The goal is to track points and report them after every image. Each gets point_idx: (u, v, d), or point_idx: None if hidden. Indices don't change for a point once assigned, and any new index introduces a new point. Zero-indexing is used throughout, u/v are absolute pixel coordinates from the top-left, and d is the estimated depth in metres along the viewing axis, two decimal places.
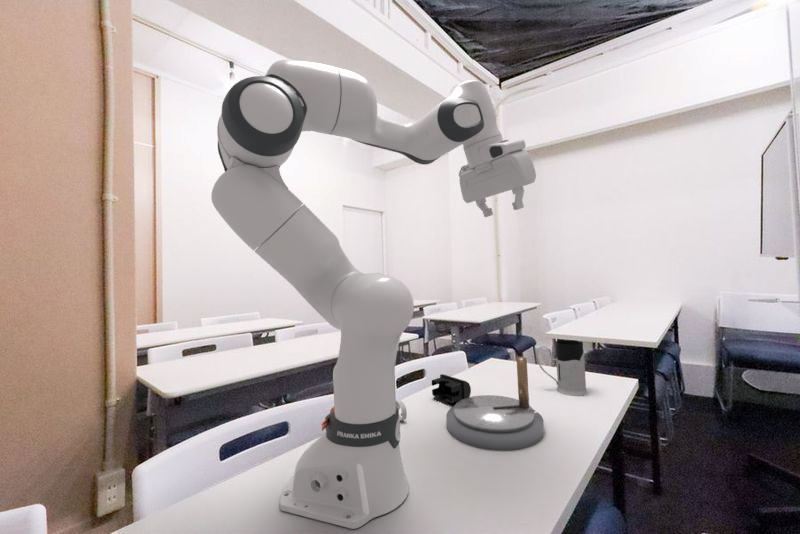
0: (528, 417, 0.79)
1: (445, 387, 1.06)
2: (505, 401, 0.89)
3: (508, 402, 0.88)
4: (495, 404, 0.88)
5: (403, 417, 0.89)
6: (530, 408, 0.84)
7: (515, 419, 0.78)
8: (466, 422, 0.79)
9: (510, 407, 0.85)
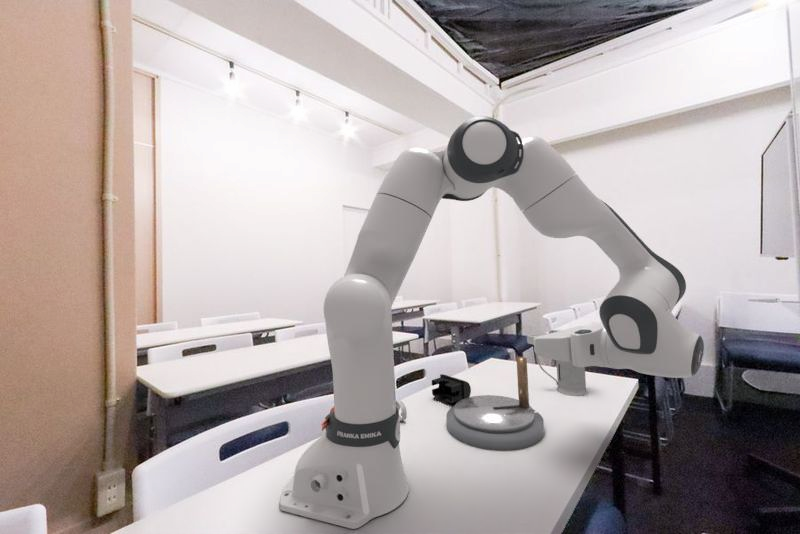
0: (528, 417, 0.79)
1: (445, 387, 1.06)
2: (505, 401, 0.89)
3: (508, 402, 0.88)
4: (495, 404, 0.88)
5: (403, 417, 0.89)
6: (530, 408, 0.84)
7: (515, 419, 0.78)
8: (466, 422, 0.79)
9: (510, 407, 0.85)
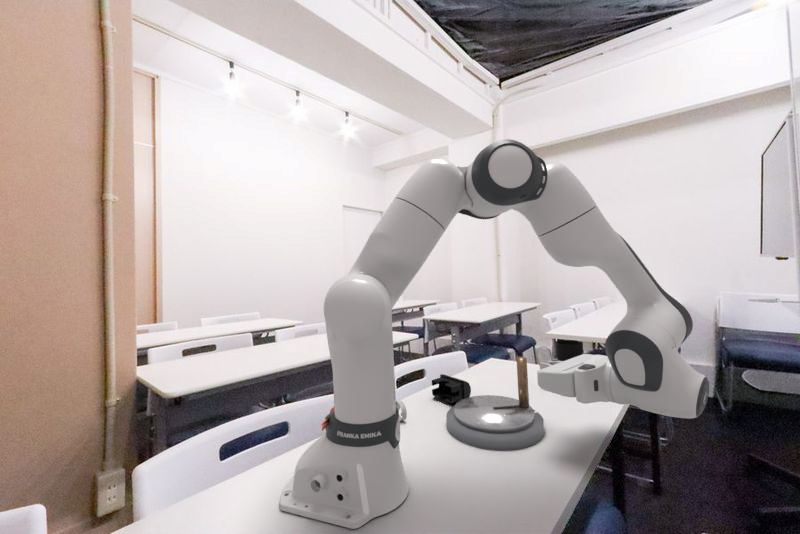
0: (528, 417, 0.79)
1: (445, 387, 1.06)
2: (505, 401, 0.89)
3: (508, 402, 0.88)
4: (495, 404, 0.88)
5: (403, 417, 0.89)
6: (530, 408, 0.84)
7: (515, 419, 0.78)
8: (466, 422, 0.79)
9: (510, 407, 0.85)
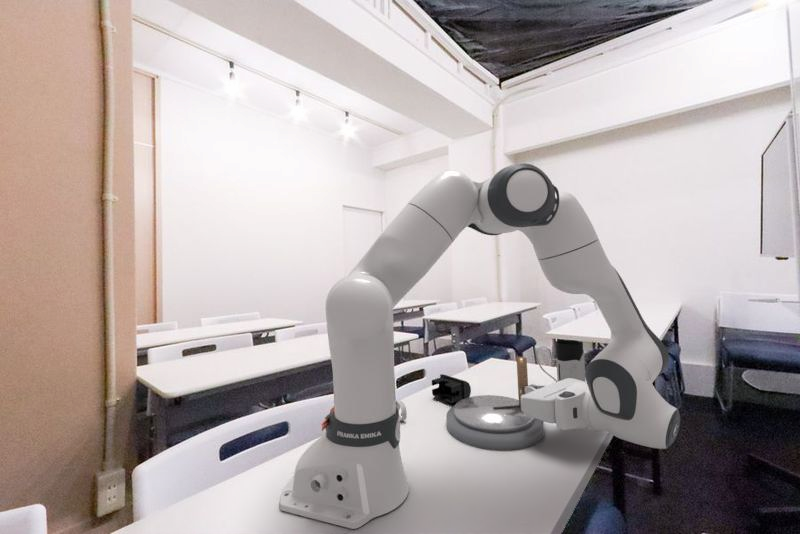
0: (528, 417, 0.79)
1: (445, 387, 1.06)
2: (505, 401, 0.89)
3: (508, 402, 0.88)
4: (495, 404, 0.88)
5: (403, 417, 0.89)
6: None
7: (515, 419, 0.78)
8: (466, 422, 0.79)
9: (510, 407, 0.85)
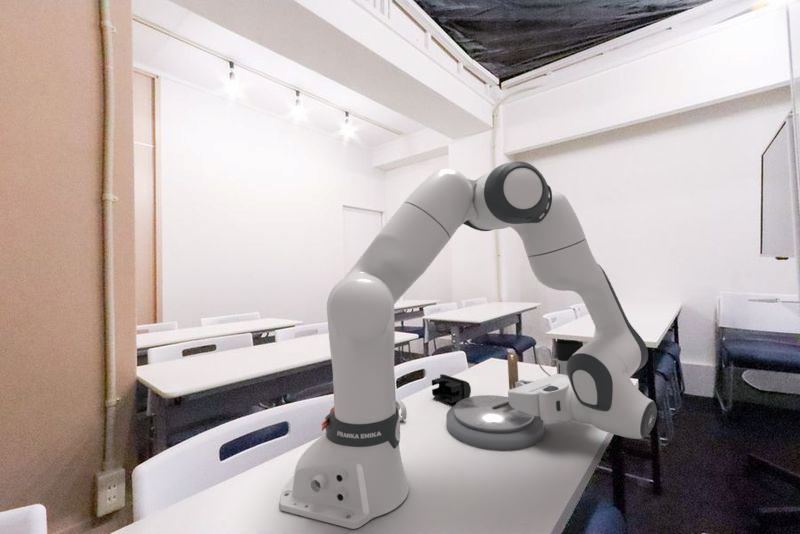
0: None
1: (445, 387, 1.06)
2: (494, 400, 0.91)
3: (498, 400, 0.90)
4: (489, 404, 0.88)
5: (403, 417, 0.89)
6: None
7: (523, 414, 0.81)
8: (483, 427, 0.76)
9: (505, 404, 0.87)
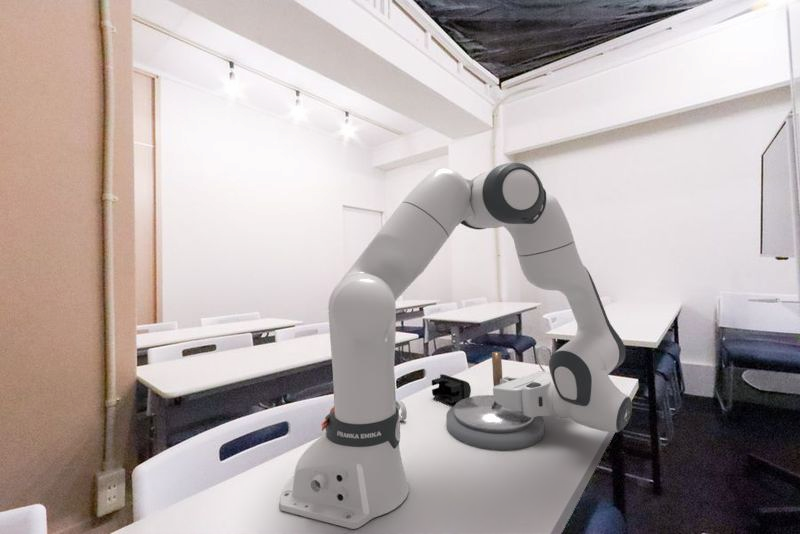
0: None
1: (445, 387, 1.06)
2: (481, 400, 0.91)
3: (485, 400, 0.91)
4: (483, 405, 0.88)
5: (403, 417, 0.89)
6: None
7: None
8: (508, 428, 0.75)
9: None
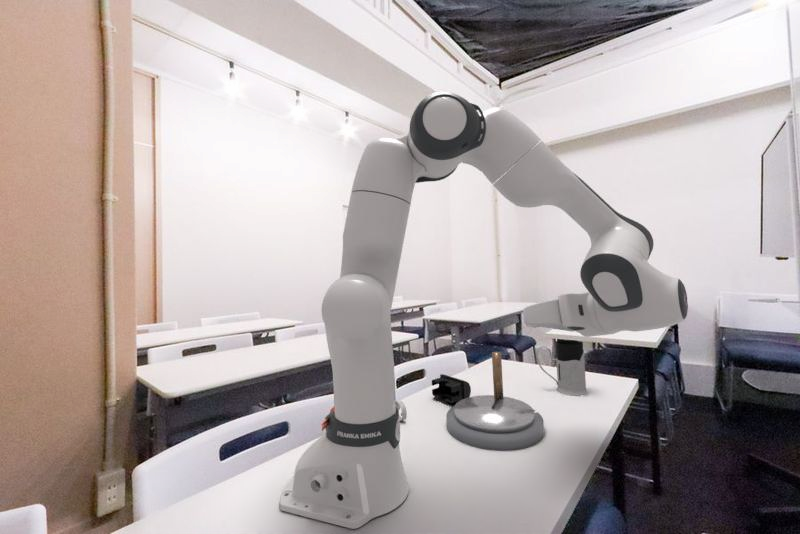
0: (522, 403, 0.88)
1: (445, 387, 1.06)
2: (481, 400, 0.91)
3: (485, 400, 0.91)
4: (483, 405, 0.88)
5: (403, 417, 0.89)
6: (506, 397, 0.92)
7: (523, 408, 0.84)
8: (508, 428, 0.75)
9: (497, 401, 0.89)
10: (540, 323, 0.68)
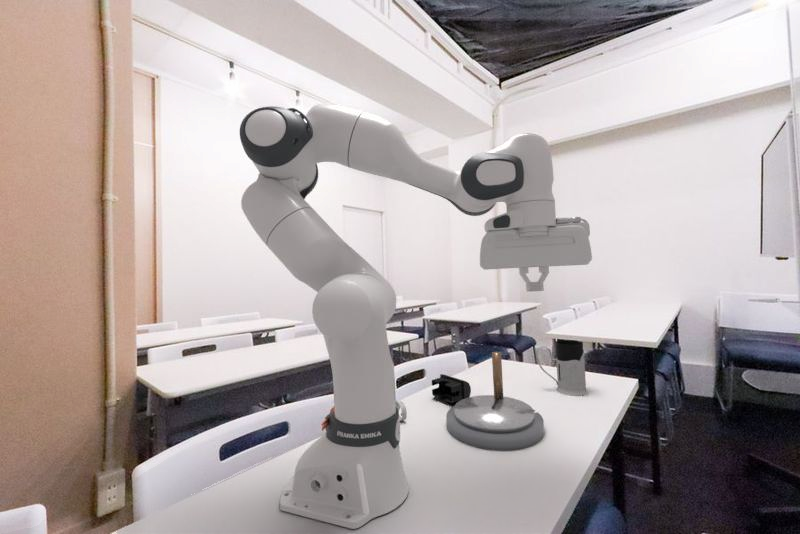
0: (522, 403, 0.88)
1: (445, 387, 1.06)
2: (481, 400, 0.91)
3: (485, 400, 0.91)
4: (483, 405, 0.88)
5: (403, 417, 0.89)
6: (506, 397, 0.92)
7: (523, 408, 0.84)
8: (508, 428, 0.75)
9: (497, 401, 0.89)
10: (482, 249, 0.66)
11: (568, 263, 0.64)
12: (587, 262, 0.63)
